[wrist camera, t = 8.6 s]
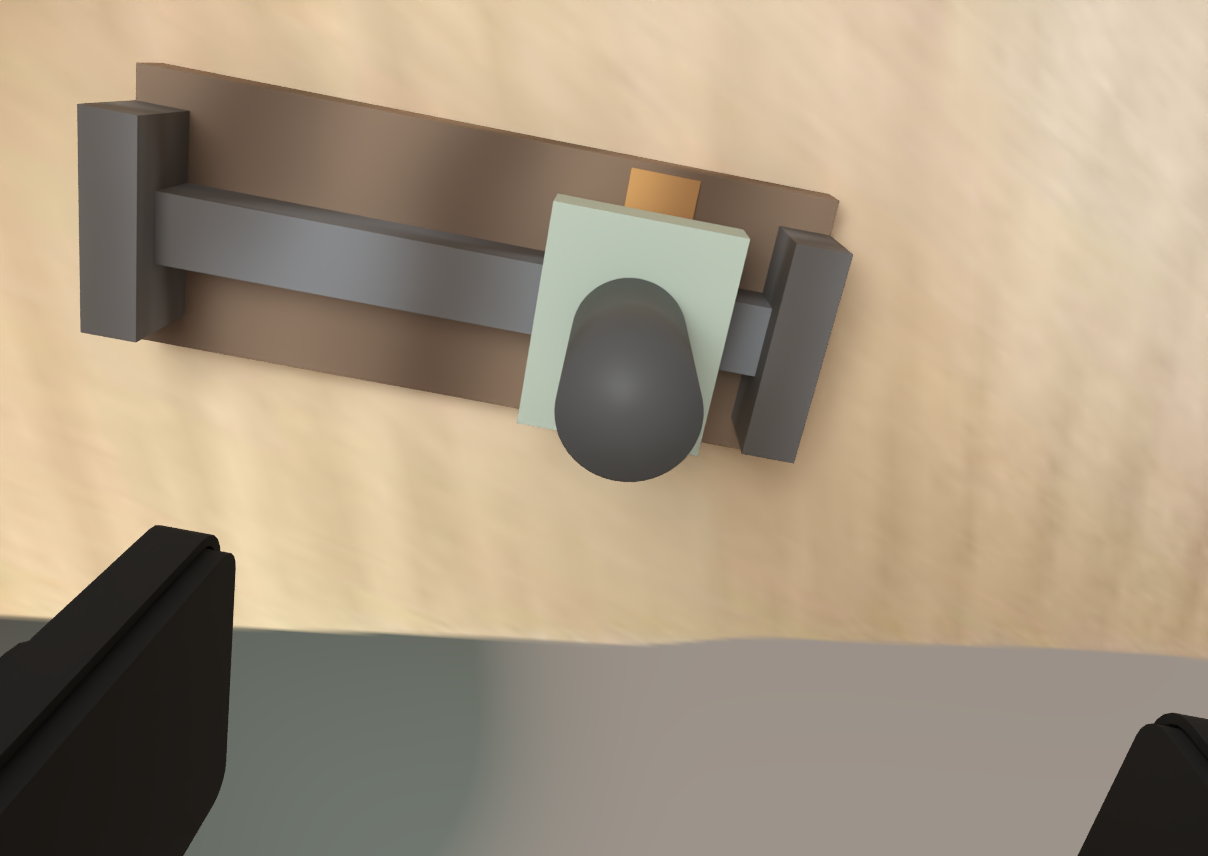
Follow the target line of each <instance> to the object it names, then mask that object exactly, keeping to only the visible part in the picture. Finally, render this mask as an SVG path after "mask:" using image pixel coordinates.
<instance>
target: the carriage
mask: <svg viewBox="0 0 1208 856" xmlns="http://www.w3.org/2000/svg"><path fill="white" fill-rule="evenodd" d="M749 242H750V238H749V237H748V235H747V234H746V233H745V231H744V230H743V229H738V228H733V227H728V226H722V225H717V224H712V223H707V222H702V221H697V220H692V219H686V218H681V217H676V216H671V215H666V214H661V213H656V212H650V211H645V210H640V209H635V208H630V207H625V206H620V205H614V204H609V203H604V202H599V201H594V200H589V199H584V198H578V197H573V196H568V195H563V194H557V196H556V197H555V199H554V201H553V207H552V213H551V219H550V225H549V231H548V237H547V243H546V249H545V255H544V261H543V267H542V273H541V280H540V286H539V292H538V298H537V304H536V310H535V316H534V322H533V328H532V334H531V340H530V346H529V353H528V359H527V365H526V371H525V377H524V383H523V389H522V395H521V401H520V407H519V413H518V419H517V423H519V424H524V425H530V426H535V427H541V428H546V429H552V430H557V432H558V435H559V437H560V439H561V442H562V444H563V445H564V447H565V448H566V450H567V452H568V453H569V454H570V455H571V456H572V458H573V459H574V460H575V461H576V462H578V463H579V464H580V465H581V466H582V467H584V468H585V469H587V470H588V471H590V472H592V473H594V474H596V475H598V476H601V477H603V478H606V479H610V480H614V481H622V482H636V481H644V480H648V479H652V478H655V477H658V476H660V475H662V474H664V473H666V472H668V471H670V470H671V469H673V468H674V467H676V466H677V465H678V464H679V463H680V462H682V461H683V460H684V459H685V458H686V456H687V455H693V456H698V453H699V448H700V444H701V440H702V436H703V432H704V428H705V424H706V420H707V415H708V411H709V407H710V403H711V399H712V395H713V391H714V387H715V382H716V378H717V374H718V370H719V366H720V362H721V358H722V353H723V349H724V345H725V341H726V337H727V333H728V329H729V325H730V320H731V316H732V312H733V308H734V304H735V300H736V296H737V292H738V287H739V283H740V279H741V275H742V271H743V267H744V263H745V259H746V254H747V250H748V246H749Z"/></svg>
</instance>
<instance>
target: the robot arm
mask: <svg viewBox="0 0 1208 856" xmlns="http://www.w3.org/2000/svg"><path fill="white" fill-rule="evenodd" d="M235 570H236V568H235V558H234V556H233V555H232V554H231V553H227V552H222V551H220V545H219V541H218V539H217V538H216V537H215V536H214V535H210V534H205V533H199V532H194V531H189V530H183V529H178V528H172V527H167V526H162V525H155V526H154V527H152V528H151V529H149V530H148V531H147V532H146V533H145V534H144V535H143V536H141V537H140V538H139V539H138V540H137V541H136V542H135V543H134V544H133V545H132V546H131V547H130V548H128V549H127V550H126V551H125V552H124V553H123V554H122V555H121V556H120V557H119V558H118V559H117V560H116V561H114V562H113V563H112V564H111V565H110V566H109V567H108V568H107V569H106V570H105V571H104V572H103V573H101V574H100V575H99V576H98V577H97V578H96V579H95V580H94V581H93V582H92V583H91V584H90V585H88V586H87V587H86V588H85V589H84V590H83V591H82V592H81V593H80V594H79V595H78V596H77V597H76V598H74V599H73V600H72V601H71V602H70V603H69V604H68V605H67V606H66V607H65V608H64V609H63V610H61V611H60V612H59V613H58V614H57V615H56V616H55V617H54V618H53V619H52V620H51V621H50V622H49V623H47V624H46V625H45V626H44V627H43V628H42V629H41V630H40V631H39V632H38V633H37V634H36V635H34V636H33V637H32V638H31V640H29V641H27V642H22V643H19V644H17V645H16V646H15V647H14V648H12V649H10V650H9V651H8V652H6V653H5V654H4V655H3V656H1V657H0V856H183V855H184V853H185V852H186V850H187V848H188V847H189V845H190V843H191V842H192V840H193V838H194V836H195V835H196V833H197V831H198V830H199V828H200V826H201V825H202V823H203V821H204V819H205V818H206V816H207V814H208V813H209V811H210V809H211V808H212V806H213V804H214V802H215V800H216V798H217V796H218V793H219V791H220V787H221V785H222V781H223V778H224V773H225V767H226V753H227V732H228V711H229V691H230V670H231V651H232V631H233V610H234V590H235ZM1078 856H1208V719H1204V718H1198V717H1193V716H1188V715H1182V714H1177V713H1168V714H1164V715H1162V716H1161V717H1160V718H1158V719H1157V720H1156V721H1155V723H1154V724H1147V725H1145V726H1144V727H1142V728H1141V729H1140V731H1139V732H1138V734H1137V735H1136V737H1135V739H1134V741H1133V743H1132V745H1131V748H1130V749H1129V752H1128V753H1127V755H1126V758H1125V760H1124V762H1123V764H1122V766H1121V768H1120V770H1119V772H1118V774H1117V776H1116V778H1115V780H1114V782H1113V784H1112V786H1111V788H1110V790H1109V792H1108V794H1107V797H1106V799H1105V801H1104V803H1103V805H1102V807H1101V809H1100V811H1099V813H1098V815H1097V817H1096V819H1095V821H1094V824H1093V825H1092V827H1091V829H1090V831H1089V834H1088V836H1087V838H1086V840H1085V842H1084V844H1083V846H1082V848H1081V850H1080V852H1079V854H1078Z"/></svg>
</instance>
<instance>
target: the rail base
mask: <svg viewBox="0 0 1208 856" xmlns="http://www.w3.org/2000/svg"><path fill="white" fill-rule="evenodd" d="M77 122H78V188H79V254H80V320H81V332H82V333H88V334H93V335H98V336H104V337H109V338H115V339H120V340H126V341H131V342H137V341H139V340H141V339H144V340H150V341H155V342H161V343H166V344H171V345H177V346H182V347H188V348H193V349H199V350H204V351H210V352H215V353H220V354H226V355H231V356H237V357H242V358H248V359H253V360H258V361H264V362H269V363H275V364H280V365H286V366H291V367H296V368H302V369H307V370H313V371H318V372H324V373H329V374H334V375H340V376H345V377H351V378H356V379H362V380H367V381H372V382H378V383H383V384H389V385H394V386H400V387H405V388H410V389H416V390H421V391H427V392H432V393H438V394H443V395H449V396H454V397H459V398H465V399H470V400H476V401H481V402H487V403H492V404H497V405H503V406H508V407H514V408H519V407H520V401H521V395H522V389H523V383H524V377H525V371H526V365H527V359H528V353H529V346H530V340H531V334H532V328H533V322H534V316H535V310H536V304H537V298H538V292H539V286H540V280H541V273H542V267H543V261H544V255H545V249H546V243H547V237H548V231H549V225H550V219H551V213H552V207H553V201H554V199H555V197H556V196H557V194H563V195H568V196H573V197H578V198H584V199H589V200H594V201H599V202H604V203H609V204H614V205H620V206H625V207H630V208H635V209H640V210H645V211H650V212H656V213H661V214H666V215H671V216H676V217H681V218H686V219H692V220H697V221H702V222H707V223H712V224H717V225H722V226H728V227H733V228H738V229H743V230H744V231H745V233H746V234H747V235H748V237H749V238H750V242H749V246H748V250H747V254H746V259H745V263H744V267H743V271H742V275H741V279H740V283H739V287H738V292H737V296H736V300H735V304H734V308H733V312H732V316H731V320H730V325H729V329H728V333H727V337H726V341H725V345H724V349H723V353H722V358H721V362H720V366H719V370H718V374H717V378H716V382H715V387H714V391H713V395H712V399H711V403H710V407H709V411H708V415H707V420H706V424H705V428H704V432H703V436H702V440H701V442H704V443H709V444H715V445H720V446H726V447H731V448H736V449H741V452H742V454H746V455H751V456H756V457H762V458H767V459H773V460H778V461H784V462H789V463H794V461H795V457H796V454H797V450H798V447H799V443H800V440H801V436H802V433H803V429H804V426H805V422H806V419H807V415H808V412H809V408H810V405H811V401H812V397H813V394H814V390H815V387H816V383H817V380H818V376H819V373H820V369H821V366H822V362H823V359H824V355H825V352H826V348H827V345H828V341H829V338H830V334H831V330H832V327H833V323H834V320H835V316H836V313H837V309H838V306H839V302H840V299H841V295H842V292H843V288H844V285H845V281H846V278H847V274H848V270H849V267H850V263H851V260H852V256H853V254H852V253H851V252H849V251H848V250H847V249H846V248H844V247H843V246H842V245H841V244H840V243H838V242H837V241H836V240H835V239H834V238H832V237H831V236H830V233H831V230H832V226H833V222H834V219H835V215H836V211H837V208H838V204H839V200H837V199H836V198H834V197H832V196H831V195H829V194H825V193H820V192H815V191H809V190H804V189H799V188H794V187H789V186H784V185H779V184H774V183H769V182H764V181H759V180H754V179H748V178H743V177H738V176H733V175H728V174H723V173H718V172H713V171H708V170H703V169H698V168H693V167H687V166H682V165H677V164H672V163H667V162H662V161H657V160H652V159H647V158H642V157H637V156H632V155H627V154H621V153H616V152H611V151H606V150H601V149H596V148H591V147H586V146H581V145H576V144H571V143H566V142H560V141H555V140H550V139H545V138H540V137H535V136H530V135H525V134H520V133H515V132H510V131H505V130H499V129H494V128H489V127H484V126H479V125H474V124H469V123H464V122H459V121H454V120H449V119H444V118H438V117H433V116H428V115H423V114H418V113H413V112H408V111H403V110H398V109H393V108H388V107H383V106H378V105H372V104H367V103H362V102H357V101H352V100H347V99H342V98H337V97H332V96H327V95H322V94H317V93H311V92H306V91H301V90H296V89H291V88H286V87H281V86H276V85H271V84H266V83H261V82H256V81H250V80H245V79H240V78H235V77H230V76H225V75H220V74H215V73H210V72H205V71H200V70H195V69H189V68H184V67H179V66H174V65H169V64H164V63H136V100H133V101H116V102H100V103H84V104H77Z"/></svg>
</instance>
